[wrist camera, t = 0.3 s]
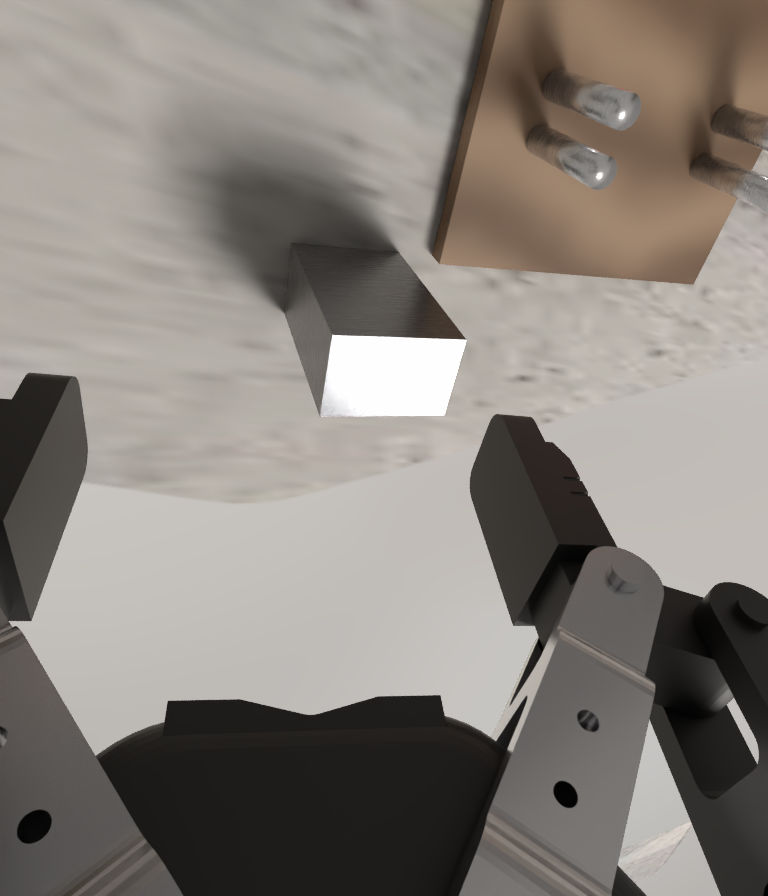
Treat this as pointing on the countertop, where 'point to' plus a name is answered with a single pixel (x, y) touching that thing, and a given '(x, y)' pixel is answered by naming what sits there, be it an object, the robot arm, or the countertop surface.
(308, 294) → the plate
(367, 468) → the countertop surface
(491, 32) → the pin tray
